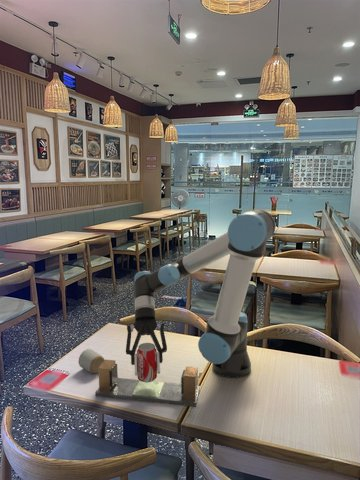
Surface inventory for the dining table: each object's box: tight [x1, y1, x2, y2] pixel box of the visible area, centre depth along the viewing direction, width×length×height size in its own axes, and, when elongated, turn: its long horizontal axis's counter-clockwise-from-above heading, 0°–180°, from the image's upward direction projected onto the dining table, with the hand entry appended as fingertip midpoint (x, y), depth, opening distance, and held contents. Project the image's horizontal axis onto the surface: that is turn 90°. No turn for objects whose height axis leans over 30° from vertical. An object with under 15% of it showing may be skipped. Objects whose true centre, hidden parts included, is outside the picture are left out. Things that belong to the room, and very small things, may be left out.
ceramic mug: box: [78, 348, 106, 374], centre depth 139 cm, size 11×8×8 cm
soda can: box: [136, 342, 158, 383], centre depth 122 cm, size 7×7×12 cm
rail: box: [95, 359, 201, 408], centre depth 122 cm, size 35×10×10 cm, turn 80°
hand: (147, 373), depth 118 cm, fingers closed on soda can, 7 cm apart
